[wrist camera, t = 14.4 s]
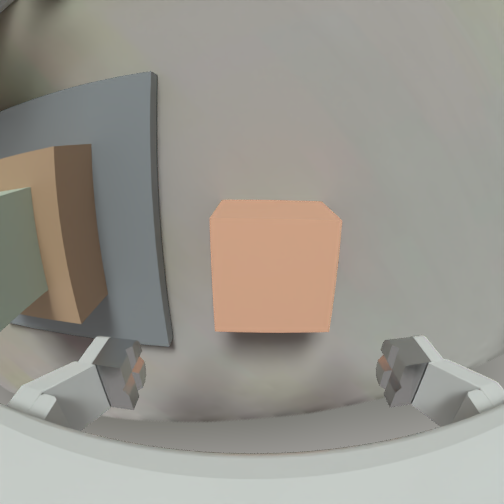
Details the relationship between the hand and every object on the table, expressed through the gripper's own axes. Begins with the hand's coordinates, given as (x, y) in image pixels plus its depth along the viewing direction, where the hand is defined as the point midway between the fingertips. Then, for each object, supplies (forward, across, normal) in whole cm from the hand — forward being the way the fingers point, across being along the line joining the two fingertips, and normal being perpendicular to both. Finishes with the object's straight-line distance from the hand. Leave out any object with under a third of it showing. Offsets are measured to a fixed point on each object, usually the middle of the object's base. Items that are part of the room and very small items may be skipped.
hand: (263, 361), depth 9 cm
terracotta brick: (+11, -1, 0) cm, 11 cm away
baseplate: (+11, +15, -2) cm, 19 cm away
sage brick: (+6, +15, -2) cm, 16 cm away
